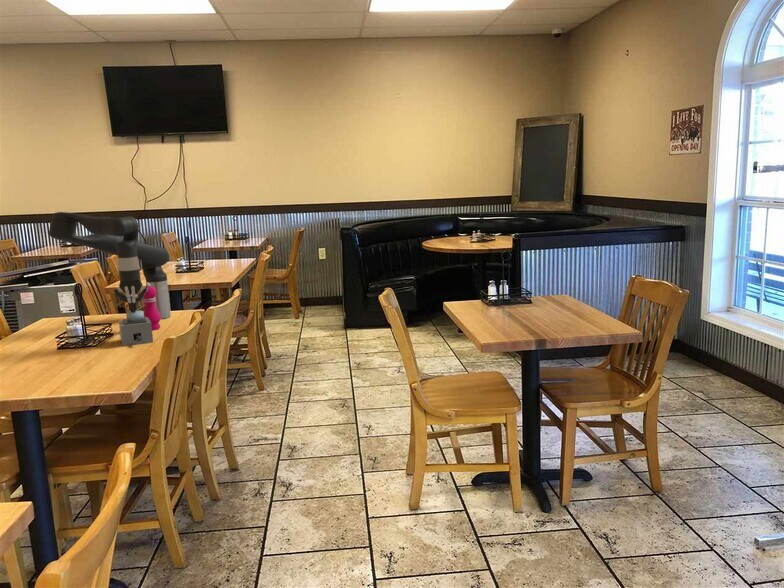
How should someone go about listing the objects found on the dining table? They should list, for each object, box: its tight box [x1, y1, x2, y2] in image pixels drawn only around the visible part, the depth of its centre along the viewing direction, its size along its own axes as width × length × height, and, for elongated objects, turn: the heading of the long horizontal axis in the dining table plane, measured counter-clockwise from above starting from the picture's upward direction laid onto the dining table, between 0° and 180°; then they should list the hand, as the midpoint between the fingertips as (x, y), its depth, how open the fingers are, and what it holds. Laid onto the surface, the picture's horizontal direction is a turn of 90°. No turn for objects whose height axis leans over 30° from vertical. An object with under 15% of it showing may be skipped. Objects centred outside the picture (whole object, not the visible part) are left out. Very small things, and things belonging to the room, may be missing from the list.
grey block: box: [118, 317, 154, 347], centre depth 250 cm, size 11×11×9 cm
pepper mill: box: [140, 283, 161, 331], centre depth 268 cm, size 7×7×20 cm
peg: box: [126, 310, 145, 339], centre depth 250 cm, size 6×6×11 cm
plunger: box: [134, 333, 141, 342], centre depth 245 cm, size 8×2×2 cm, turn 27°
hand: (133, 311), depth 249 cm, fingers closed
